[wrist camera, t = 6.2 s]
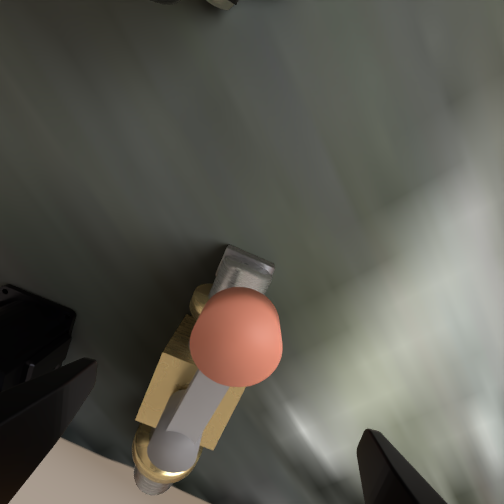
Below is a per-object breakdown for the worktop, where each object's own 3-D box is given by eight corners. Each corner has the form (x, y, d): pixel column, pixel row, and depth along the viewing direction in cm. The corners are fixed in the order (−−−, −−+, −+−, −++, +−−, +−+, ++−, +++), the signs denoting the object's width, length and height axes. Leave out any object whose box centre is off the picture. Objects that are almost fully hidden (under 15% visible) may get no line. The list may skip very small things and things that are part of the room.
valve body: (196, 448, 26) (177, 524, 20) (139, 426, 25) (102, 497, 20) (285, 268, 21) (294, 297, 15) (217, 238, 21) (200, 257, 15)
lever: (208, 434, 18) (194, 495, 14) (150, 408, 18) (121, 463, 14) (291, 298, 16) (299, 331, 12) (225, 264, 15) (214, 287, 12)
